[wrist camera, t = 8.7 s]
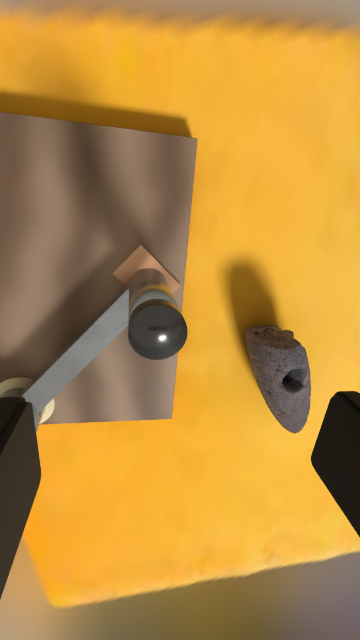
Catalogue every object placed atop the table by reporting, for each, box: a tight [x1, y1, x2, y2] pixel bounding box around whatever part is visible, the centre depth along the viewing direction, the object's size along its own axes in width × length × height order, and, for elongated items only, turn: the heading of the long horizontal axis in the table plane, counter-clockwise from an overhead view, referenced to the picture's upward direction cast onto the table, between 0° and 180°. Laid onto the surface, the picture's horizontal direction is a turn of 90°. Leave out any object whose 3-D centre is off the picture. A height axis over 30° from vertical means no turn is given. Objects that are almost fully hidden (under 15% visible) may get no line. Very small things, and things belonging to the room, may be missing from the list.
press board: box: [0, 112, 197, 424], centre depth 27 cm, size 19×28×2 cm
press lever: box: [0, 268, 187, 431], centre depth 22 cm, size 4×22×11 cm, turn 133°
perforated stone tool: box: [244, 325, 311, 433], centre depth 31 cm, size 15×5×7 cm, turn 18°
